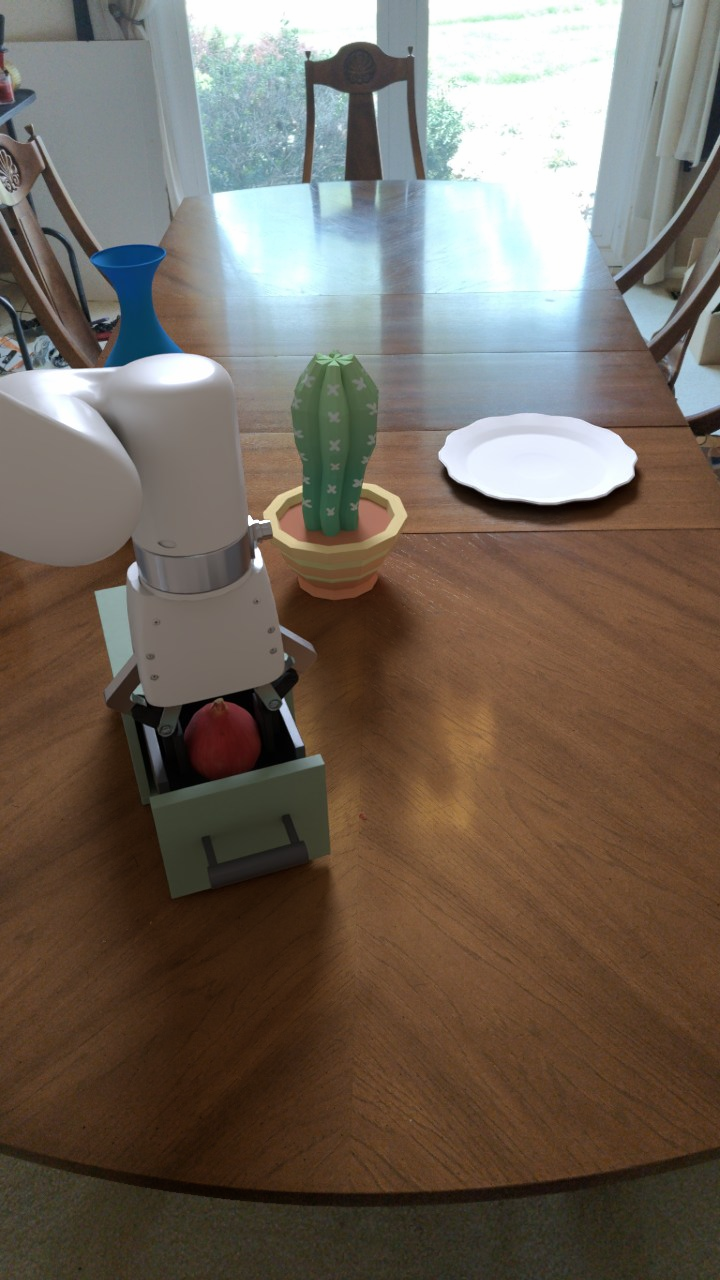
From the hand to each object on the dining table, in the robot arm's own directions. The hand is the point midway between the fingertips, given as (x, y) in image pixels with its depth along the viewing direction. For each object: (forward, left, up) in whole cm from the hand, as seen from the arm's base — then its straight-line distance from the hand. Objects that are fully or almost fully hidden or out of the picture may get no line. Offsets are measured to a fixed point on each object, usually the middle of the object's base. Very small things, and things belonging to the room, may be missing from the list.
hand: (223, 749), depth 75 cm
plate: (+51, +47, -9) cm, 70 cm away
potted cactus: (+19, +32, -9) cm, 38 cm away
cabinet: (0, +13, -9) cm, 16 cm away
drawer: (0, -1, -8) cm, 8 cm away
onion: (0, 0, -3) cm, 3 cm away
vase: (+5, +63, -9) cm, 64 cm away
